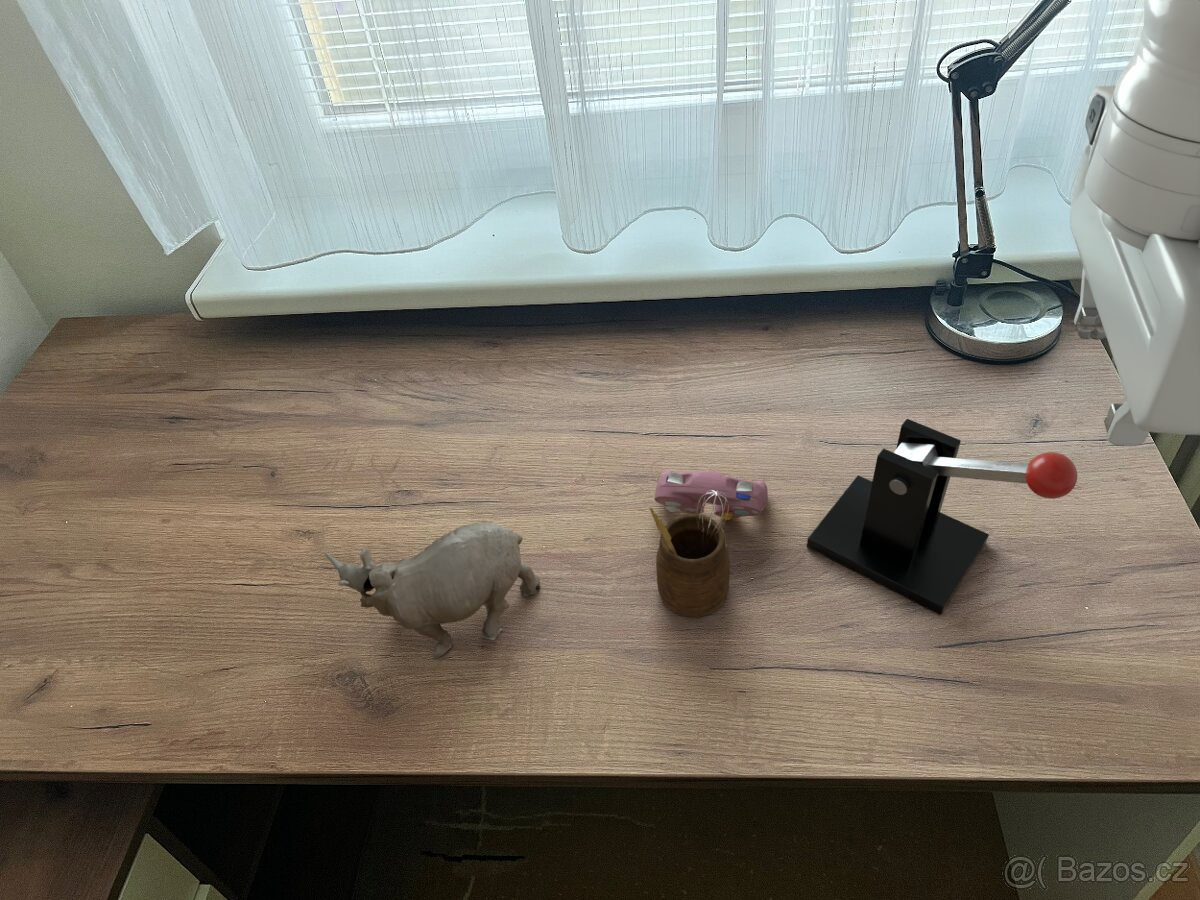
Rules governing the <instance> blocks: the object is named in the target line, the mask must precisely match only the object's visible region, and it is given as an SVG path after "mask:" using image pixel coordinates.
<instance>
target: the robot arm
mask: <svg viewBox="0 0 1200 900" xmlns="http://www.w3.org/2000/svg"><path fill="white" fill-rule="evenodd" d="M1083 123H1084V126H1085V130H1086V133H1087V137H1086V139H1085V142H1084V145H1083V149H1082V153H1081V155H1080V161H1079V165H1078V168H1077V172H1076V176H1075V181H1074V186H1073V190H1072V193H1071V195H1072V196H1071V199H1070V208H1069V209H1070V211H1069V213H1070V214H1069V225H1070V226H1069V227H1070V228H1069V229H1070V231H1071V234H1072V236H1073V239H1074V242H1075V246H1076V249H1077V251H1078V255H1079V258H1080V261H1081V264H1082V273H1081V281H1080V282H1081V283H1080V286H1081V287H1080V294H1079V295H1080V296H1079V298H1080V299H1079V304H1078V307H1077V310H1076V313H1075V316H1074V319H1073V323H1074V326H1075V329H1076V332H1077V335H1078V337H1079V338H1080V339H1082V340H1089V339H1092V340H1095V341H1096V340H1097V341H1098V340H1099V341H1100V340H1101V341H1102V340H1104V339H1107V340H1106V341H1107V343H1108V347H1109V349H1110V352H1111V355H1112V359H1113V361H1114V364H1115V367H1116V370H1117V373H1118V377H1119V380H1120V382H1121V386H1122V389H1123V391H1124V392H1123V396H1124V399H1125V401H1124V402H1123V403H1113V402H1112V403H1111V404H1110V405H1109V409H1108V410H1107V416H1106V417H1105V418H1104V421H1103V424H1104V427H1105V431H1106V436H1107V438H1108V439H1107V440H1108V442H1109V443H1110V444H1112V445H1114V446H1126V447H1136V446H1140V445H1142V444H1144V442H1146V439H1147V437H1148V435H1149V433H1158V434H1166V435H1167V434H1168V435H1169V434H1170V435H1179V436H1180V435H1182V436H1183V435H1186V436H1200V0H1144V2H1143V27H1142V31H1141V37H1140V40H1139V42H1138V45H1137V47H1136V49H1135V52H1134V53H1133V56H1132V57H1131V59H1130V60H1129V62H1128V64H1127V65H1126V67H1125V68H1124V69H1123V71H1122V72H1121V74H1120V76H1119V77H1118V80H1117V81H1116V84H1113V85H1100V86H1096V87H1094V88H1093V90H1092V91H1091V93H1090V95H1089V97H1088V101H1087V104H1086V108H1085V111H1084V116H1083Z"/></svg>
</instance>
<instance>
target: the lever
mask: <svg viewBox="0 0 1200 900" xmlns="http://www.w3.org/2000/svg"><path fill="white" fill-rule="evenodd" d="M896 448H897V447H896ZM893 453H896V454H898V455H900V456H903V457H905V458H907V459H910V460H912V461H914V462H917V463H919V464H921V465H924V466H926V467H928V468H931V469H933V470H935V471H938V475H939V476H950V478H960V479H961V478H962V479H970V480H971V479H973V480H984V481H993V482H996V481H997V482H1003V483H1014V484H1015V483H1017V484H1027V486H1028V488H1029V489H1030V491H1032V492H1033V493H1034V494H1035V495H1037V496H1038V497H1041V498H1043V499H1049V500H1050V499H1051V500H1053V499H1054V500H1055V499H1059V498H1063V497H1065V496H1067V495H1068V494H1070V493H1071V492H1072V491H1073V490H1074V488H1075V486H1076V484H1077V481H1078V470H1077V467H1076V465H1075V463H1074V462H1073V461H1072V460H1071V459H1070V458H1069V457H1068V456H1067V455H1064V454H1062V453H1059V452H1053V451H1049V452H1042V453H1039V454H1038V455H1036V456H1034V457H1033V458H1031V460H1030V461H1029V462H1016V461H1015V462H1014V461H1001V460H1000V461H999V460H988V459H976V458H975V459H974V458H962V457H961V458H960V457H956V458H949V457H938V454H937V451H936V447H935V445H931V444H915V443H901V444H900V445H899V446H898V448H897V449H895V450H894V451H893Z"/></svg>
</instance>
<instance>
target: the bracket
mask: <svg viewBox="0 0 1200 900" xmlns="http://www.w3.org/2000/svg"><path fill="white" fill-rule="evenodd" d="M961 442H962V439H959V438H956V437H954V436H952V435H949V434H947V433H944V432H941V431H939V430H936V429H934V428H932V427H929V426H927V425H924V424H922V423H920V422H917V421H914V420H912V419H909V418H906V419H905V420H904V421H903V423H902V424H901V425H900V430H899V435H898V439H897V444H896V449H897V448H898V446H899V445H900V444H901V443H915V444H931V445H935V447H936V451H937V454H938V457H949V458H957V456H958V452H959V449H960V445H961ZM896 449H895V450H896ZM950 479H951V477H950V476H939V475H938V471H935V470H933V469H931V468H928V467H926V466H924V465H921V464H919V463H917V462H914V461H912V460H910V459H907V458H905V457H903V456H900V455H898V454H896V453H894V451H891V450H889V449H887V448H882V449H881V450H880V452H879V453H877V456H876V461H875V467H874V470H873V476H872V480H870V479H867V478H865V477H863V476H861V475H859V474H858V475H856V477H855V478H854V479H853V480H852V481H851V483H850V485H849V486H848V487H847V488H846V489H845V491H844V492H843V493H842V494H841V496H840V497H839V498H838V499H837V501H836V502H835V503H834V505H833V506H832V507H831V508H830V509H829V511H828V512H827V513H826V515H824V517H823V518H822V520H821V521H820V522H819V523H818V525H817V526H816V527H815V528H814V529H813V531H812V532H811V533H810V535H809V536H808V537H807V540H806V541H807V542H806V548H808V549H809V550H812V551H814V552H816V553H817V554H819V555H822V556H824V557H826V558H827V559H829V560H831V561H834V562H835V563H837V564H839V565H841V566H843V567H845V568H847V569H849V570H851V571H853V572H855V573H857V574H859V575H861V576H862V577H865V578H867V579H868V580H871V581H873V582H875V583H877V584H879V585H880V586H882V587H884V588H886V589H887V590H890V591H892V592H894V593H895V594H897V595H900V596H901V597H903V598H906V599H907V600H910V601H912V603H913V602H914V603H916V604H917V605H920V606H921V607H923V608H925V609H927V610H929V611H931V612H933V613H935V614H937V615H939V616H941V615H942V614H943V612H944V611H945V610H946V607H948V604H949V603H950V601H951V600H952V599H953V596H954V595H955V593H956V592H957V590H958V589H959V588H960V586H961V584H962V583H963V581H964V579H965V578H966V576H967V575H968V572H969V571H970V569H971V568H972V566H973V565H974V563H975V561H976V560H977V559H978V557H979V555H980V554H981V552H982V550H983V549H984V547H985V546H986V544H987V541H988V539H989V533H987V532H985V531H983V530H980V529H978V528H976V527H973V526H971V525H969V524H967V523H965V522H963V521H960V520H958V519H956V518H953V517H952V516H949V515H947V514H945V513H943V512H941V511H942V507H943V504H944V501H945V497H946V493H947V490H948V486H949V483H950Z"/></svg>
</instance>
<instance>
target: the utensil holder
mask: <svg viewBox="0 0 1200 900" xmlns="http://www.w3.org/2000/svg"><path fill="white" fill-rule="evenodd" d="M708 491H710V490H708ZM708 491H707V492H708ZM711 491H713V490H711ZM717 491H718V490H717ZM707 492H706V494H709V493H707ZM714 492H715V491H714ZM720 493H722V492H720ZM706 494H704V495H705V497H706ZM715 494H716V496H717V495H720V494H718V493H717V492H715V493H714V495H715ZM723 494H724V493H723ZM704 495H703V496H704ZM724 495H725V494H724ZM703 496H702V497H703ZM712 496H713V495H712ZM716 496H715V500H716ZM721 496H722V495H721ZM702 497H701V498H702ZM710 497H711V496H710ZM710 497H709V498H710ZM718 497H719V496H718ZM723 497H724V496H723ZM725 497H726V495H725ZM725 497H724V498H725ZM701 498H700V499H701ZM709 498H708V499H709ZM719 498H720V497H719ZM708 499H707V500H708ZM725 499H726V498H725ZM707 500H706V501H707ZM715 500H714V504H712V508H711V513H710V516H707V515H703V514H704V512H703V506H702V509H701V511H702V513H700V514H697V513H696V514H693V513H685V514H681V515H678V516H676V517H674V518H672V519H670V520H669V521H668V522H666V524H665V523H664V521H663V520H662V518H661V516H660V517H659V515H658V513H657V512H656V511H654V509H653V507H652V506H649V507H648V508H649V510H650V513H651V516H652V518H653V520H654V524H655V525H656V527H657V529H658V531H659V532H660V537H659V540H658V541H659V542H658V548H657V552H656V557H655V568H656V569H655V570H656V585H657V591H658V594H659V597H660V599H661V600H662V603H663V604H664V605H665V606H666V607H667V608H668V609H669V610H670V611H672V612H674V613H675V614H677V615H680V616H683V617H688V618H700V617H705V616H708V615H710V614H712V613H714V612H715V611H717V610H718V609H720V607H721V606H722V605H723V603H724V602H725V601H726V599H727V596H728V593H729V589H730V571H731V570H730V568H731V566H730V565H731V564H730V553H729V549H728V547H727V540H726V536H725V532H724V531H723V527H724V525H725V523H726V521H727V520H725V519H724V522H723V524H722V520H723V518H722V516H721V517H719V520H718V522H717V521H716V520H714V519H713V518H712V517H713V513H714V510H715V505H716V504H715ZM704 501H705V498H704ZM706 501H705V502H706ZM720 501H721V499H720ZM726 501H727V499H726V500H725V503H726ZM699 502H700V500H699ZM721 503H722V501H721ZM727 503H728V501H727ZM704 504H705V505H706V503H704V502H703V505H704ZM698 506H699V504H698ZM724 508H725V505H724ZM728 509H729V504H728ZM697 510H698V507H697ZM723 512H724V510H723V505H722V515H723ZM727 515H728V511H727ZM726 519H727V516H726ZM721 524H722V526H721Z"/></svg>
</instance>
